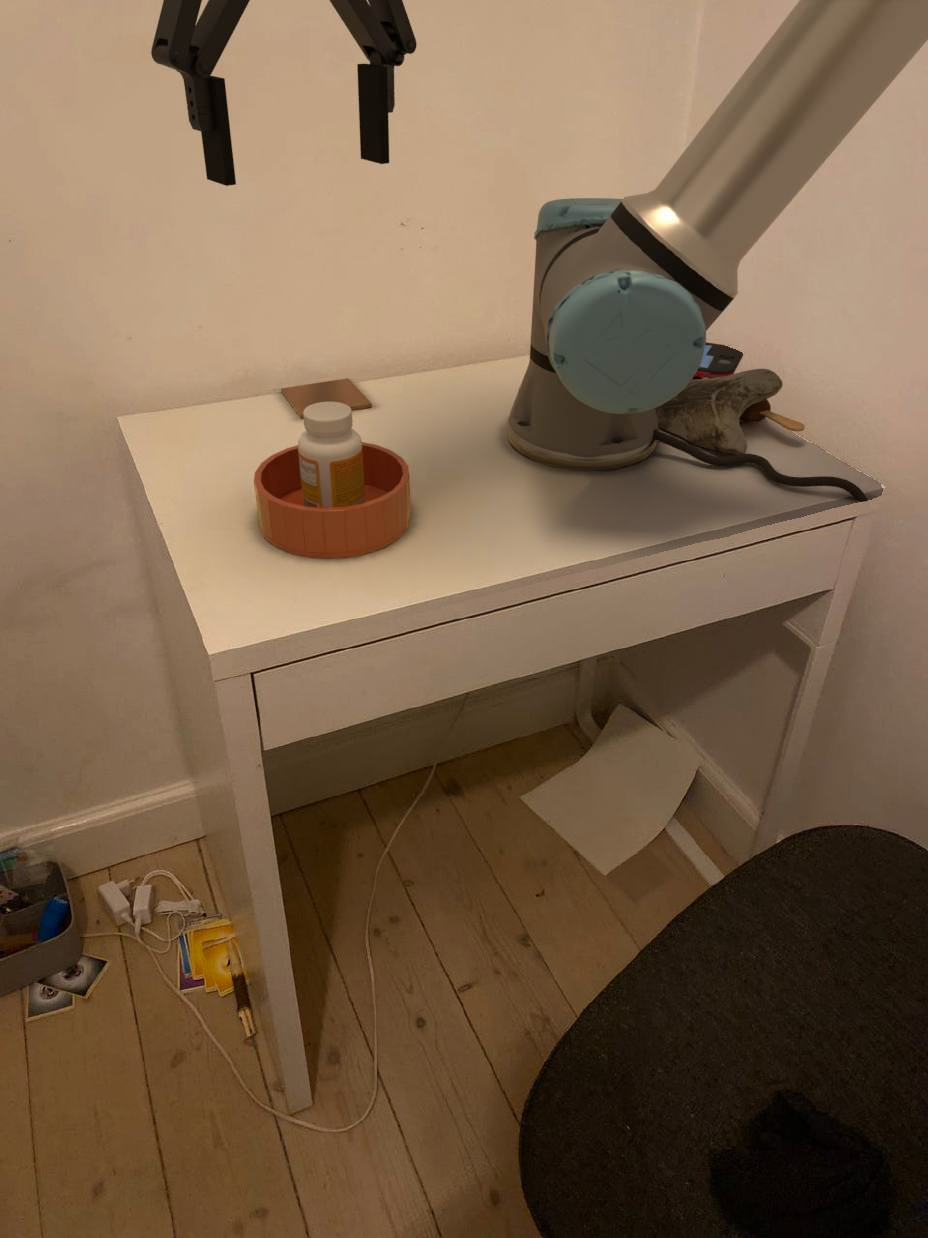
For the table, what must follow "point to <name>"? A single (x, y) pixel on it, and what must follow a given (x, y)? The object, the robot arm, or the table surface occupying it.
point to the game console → (718, 361)
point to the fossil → (717, 408)
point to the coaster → (325, 395)
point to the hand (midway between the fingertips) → (302, 171)
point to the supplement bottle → (330, 457)
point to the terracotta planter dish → (336, 526)
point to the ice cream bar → (765, 414)
